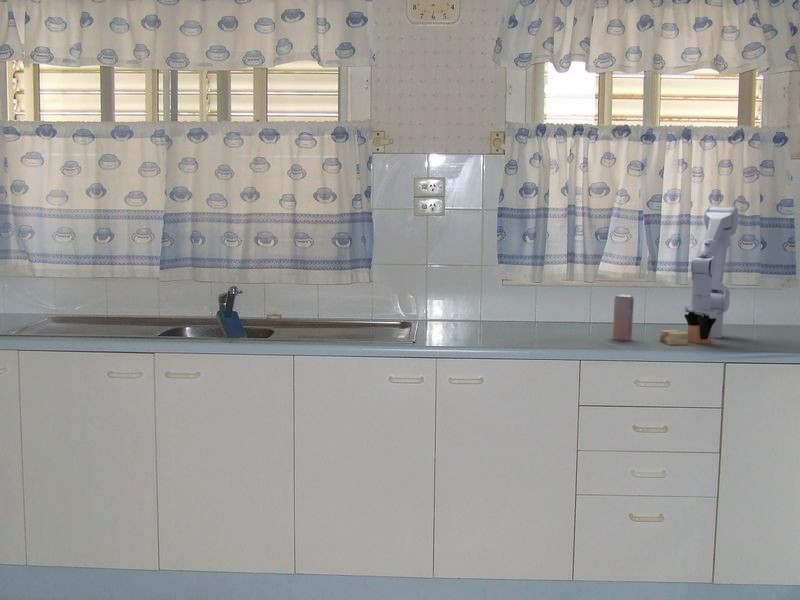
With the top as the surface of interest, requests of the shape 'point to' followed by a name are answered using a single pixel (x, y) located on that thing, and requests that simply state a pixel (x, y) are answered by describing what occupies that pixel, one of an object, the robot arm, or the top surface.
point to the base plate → (690, 343)
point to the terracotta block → (696, 335)
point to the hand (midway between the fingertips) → (698, 337)
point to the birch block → (673, 337)
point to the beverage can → (623, 317)
